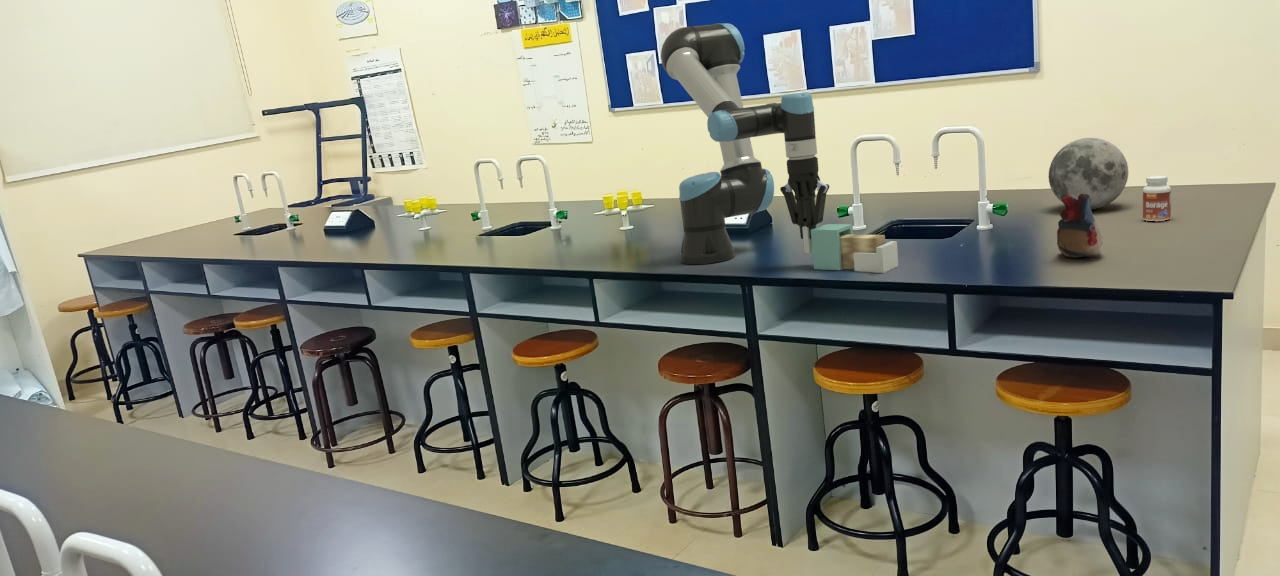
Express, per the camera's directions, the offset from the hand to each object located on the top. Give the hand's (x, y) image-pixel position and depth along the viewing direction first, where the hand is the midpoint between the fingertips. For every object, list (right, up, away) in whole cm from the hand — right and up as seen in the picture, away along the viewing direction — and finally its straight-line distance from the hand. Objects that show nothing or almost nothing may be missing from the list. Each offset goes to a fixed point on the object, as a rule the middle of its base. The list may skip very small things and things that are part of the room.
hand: (809, 251), depth 229 cm
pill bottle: (+89, +8, +3) cm, 89 cm away
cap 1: (+5, -4, -4) cm, 7 cm away
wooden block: (+10, -4, -8) cm, 13 cm away
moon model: (+84, +13, +29) cm, 90 cm away
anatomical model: (+56, -2, -24) cm, 61 cm away
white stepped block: (+14, -5, -11) cm, 18 cm away
